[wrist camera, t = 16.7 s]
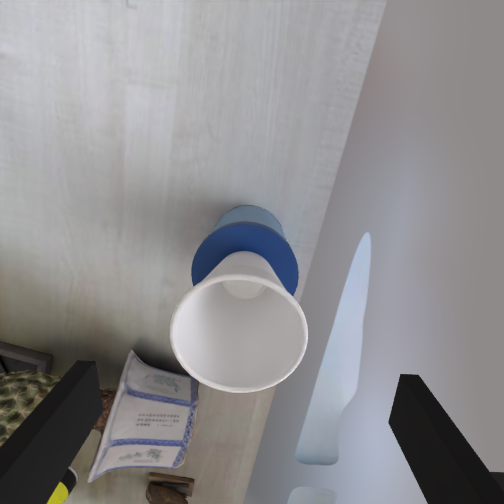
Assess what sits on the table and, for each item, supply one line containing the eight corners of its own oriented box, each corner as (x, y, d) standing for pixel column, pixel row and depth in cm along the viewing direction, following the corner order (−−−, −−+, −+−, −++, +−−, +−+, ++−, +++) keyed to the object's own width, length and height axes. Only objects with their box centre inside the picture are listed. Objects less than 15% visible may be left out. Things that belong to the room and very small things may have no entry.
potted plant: (210, 430, 37) (-87, 418, 27) (175, 505, 43) (-77, 517, 34) (204, 336, 52) (13, 308, 43) (179, 402, 59) (7, 390, 49)
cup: (246, 212, 28) (239, 244, 18) (309, 278, 30) (337, 342, 20) (180, 274, 30) (139, 335, 20) (243, 332, 33) (237, 414, 22)
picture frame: (-23, 334, 50) (-26, 408, 55) (-34, 341, 48) (-36, 417, 54) (52, 355, 51) (42, 425, 57) (44, 363, 49) (35, 434, 55)
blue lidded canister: (288, 204, 42) (303, 226, 28) (283, 276, 45) (293, 325, 32) (210, 201, 42) (189, 222, 29) (211, 273, 45) (192, 321, 32)
